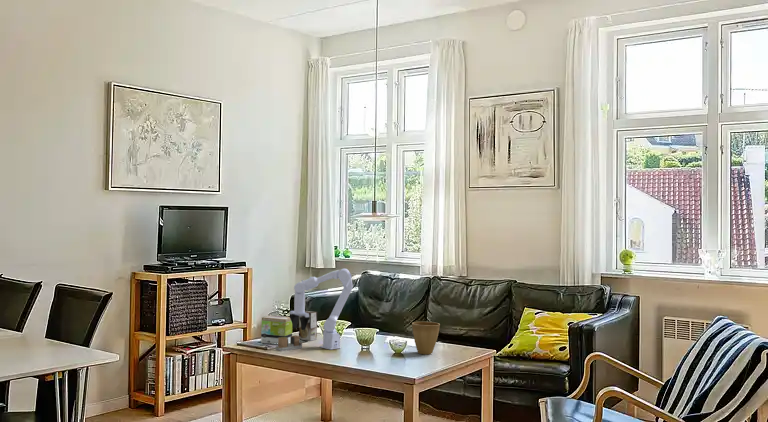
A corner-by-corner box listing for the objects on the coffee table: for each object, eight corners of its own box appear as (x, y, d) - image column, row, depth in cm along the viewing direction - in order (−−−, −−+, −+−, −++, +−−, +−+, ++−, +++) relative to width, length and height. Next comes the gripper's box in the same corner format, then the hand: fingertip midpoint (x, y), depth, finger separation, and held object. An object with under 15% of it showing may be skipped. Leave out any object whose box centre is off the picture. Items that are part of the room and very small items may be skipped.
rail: (302, 348, 380) (302, 336, 380) (280, 351, 370) (280, 338, 370) (296, 346, 384) (296, 334, 384) (275, 349, 374) (275, 337, 374)
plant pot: (437, 356, 364) (438, 326, 364) (409, 355, 367) (409, 324, 367) (440, 351, 379) (441, 322, 379) (413, 349, 382) (414, 320, 382)
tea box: (260, 343, 392) (261, 317, 392) (268, 340, 401) (269, 314, 401) (284, 345, 387) (285, 318, 387) (292, 342, 397) (293, 316, 397)
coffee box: (317, 339, 408) (317, 311, 408) (310, 341, 403) (311, 313, 403) (305, 337, 413) (305, 310, 413) (298, 339, 408) (298, 311, 408)
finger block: (299, 345, 379) (299, 336, 380) (293, 346, 377) (294, 336, 377) (295, 344, 382) (295, 335, 382) (290, 345, 380) (290, 336, 380)
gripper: (285, 303, 386) (285, 328, 386) (301, 306, 375) (301, 331, 375) (296, 302, 391) (295, 326, 391) (312, 305, 380) (311, 330, 380)
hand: (299, 329), depth 383 cm, fingers open, 7 cm apart
